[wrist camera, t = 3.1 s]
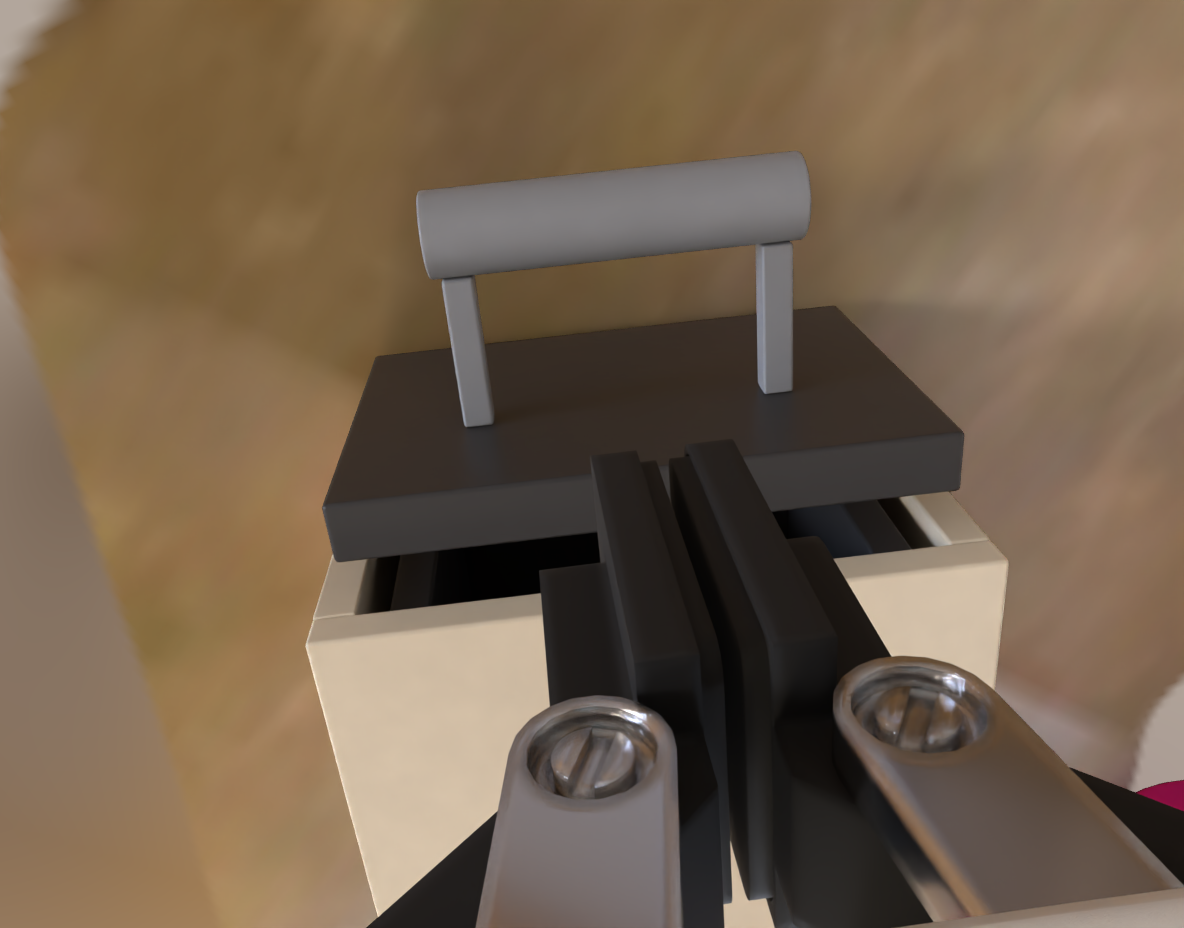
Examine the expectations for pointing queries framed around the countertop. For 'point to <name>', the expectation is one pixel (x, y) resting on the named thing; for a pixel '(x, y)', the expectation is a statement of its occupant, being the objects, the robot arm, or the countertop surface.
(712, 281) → the countertop surface
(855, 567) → the cream drawer cabinet
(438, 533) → the black drawer
